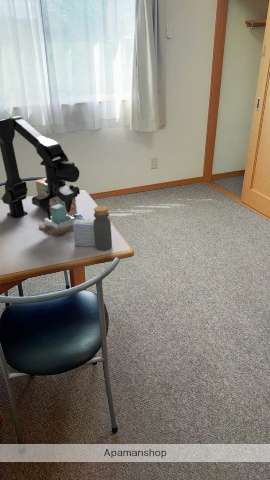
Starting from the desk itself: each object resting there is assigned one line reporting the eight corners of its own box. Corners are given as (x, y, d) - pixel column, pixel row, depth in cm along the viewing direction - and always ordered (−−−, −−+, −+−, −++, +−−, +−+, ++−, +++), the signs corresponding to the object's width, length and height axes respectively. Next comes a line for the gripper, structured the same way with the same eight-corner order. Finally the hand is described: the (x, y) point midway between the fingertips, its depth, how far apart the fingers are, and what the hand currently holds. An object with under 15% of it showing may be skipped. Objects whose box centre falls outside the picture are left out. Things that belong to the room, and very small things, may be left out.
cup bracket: (45, 225, 141) (44, 218, 140) (62, 218, 147) (61, 212, 145) (58, 231, 136) (57, 224, 135) (75, 224, 142) (74, 217, 140)
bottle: (112, 250, 124) (109, 211, 117) (95, 251, 124) (91, 212, 117) (111, 242, 129) (109, 204, 122) (95, 243, 129) (92, 205, 122)
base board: (39, 228, 141) (38, 225, 141) (63, 218, 149) (62, 216, 149) (57, 237, 134) (57, 234, 134) (81, 226, 142) (81, 224, 142)
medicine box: (98, 240, 131) (96, 219, 127) (96, 246, 127) (94, 224, 123) (77, 240, 132) (74, 219, 127) (74, 246, 128) (72, 224, 124)
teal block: (53, 225, 141) (50, 206, 137) (61, 222, 144) (58, 203, 140) (59, 228, 139) (56, 209, 135) (67, 224, 141) (65, 206, 138)
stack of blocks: (77, 215, 152) (74, 187, 147) (65, 219, 149) (61, 191, 143) (50, 202, 166) (47, 176, 161) (38, 205, 163) (34, 180, 157)
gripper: (46, 188, 121) (52, 229, 129) (87, 175, 133) (90, 213, 141) (27, 182, 128) (34, 221, 135) (68, 170, 140) (72, 206, 147)
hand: (59, 215), depth 139 cm, fingers open, 9 cm apart
